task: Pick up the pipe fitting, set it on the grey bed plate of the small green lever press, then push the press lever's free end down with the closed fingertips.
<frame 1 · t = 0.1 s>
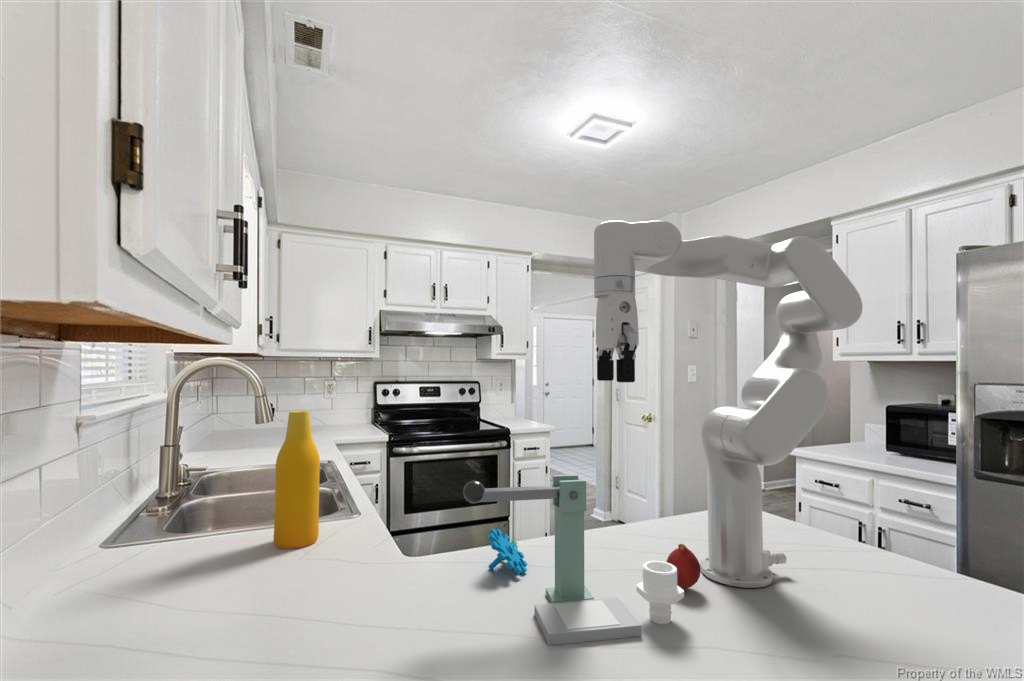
hand: (615, 381, 92), 37 cm above the countertop, tool pointing down, fingers open, 9 cm apart
lever: (523, 489, 84), point 19 cm above the countertop, hinge at 0.0°
gear: (508, 570, 97), on the countertop
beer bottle: (296, 543, 112), on the countertop
pipe fitting: (660, 620, 78), on the countertop
onion: (683, 590, 89), on the countertop
press: (580, 616, 79), on the countertop
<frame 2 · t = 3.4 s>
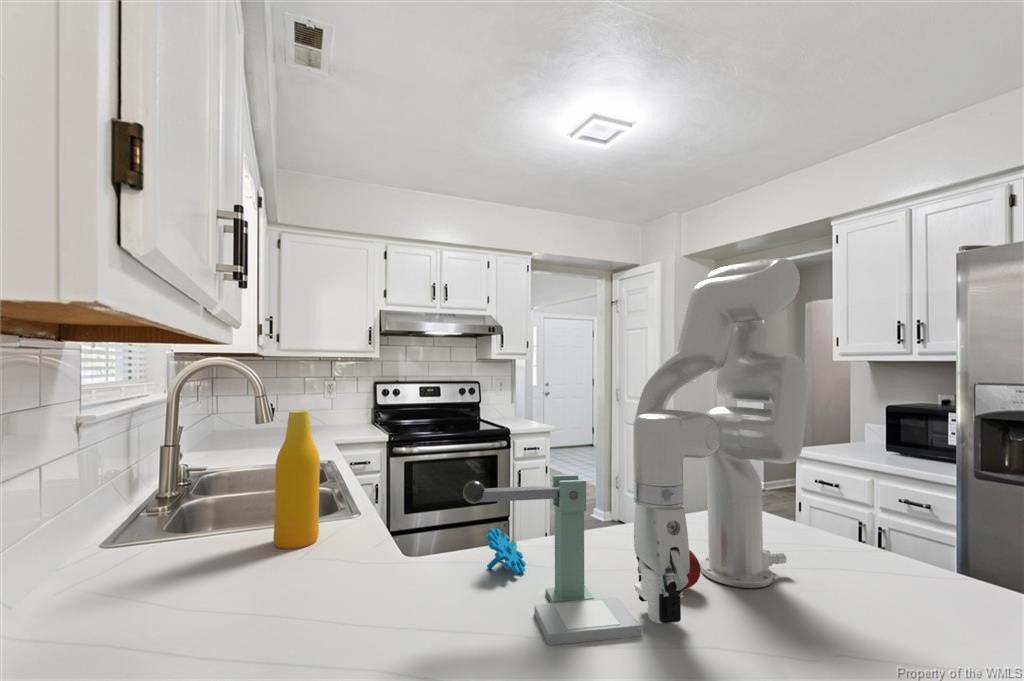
hand: (658, 609, 78), 2 cm above the countertop, tool pointing down, fingers closed on pipe fitting, 6 cm apart
pipe fitting: (658, 619, 78), on the countertop, touching gripper
everything else where it was.
when the fingers open (4 cm above the countertop, at t = 7.6 s): pipe fitting drops 1 cm, resting on press.
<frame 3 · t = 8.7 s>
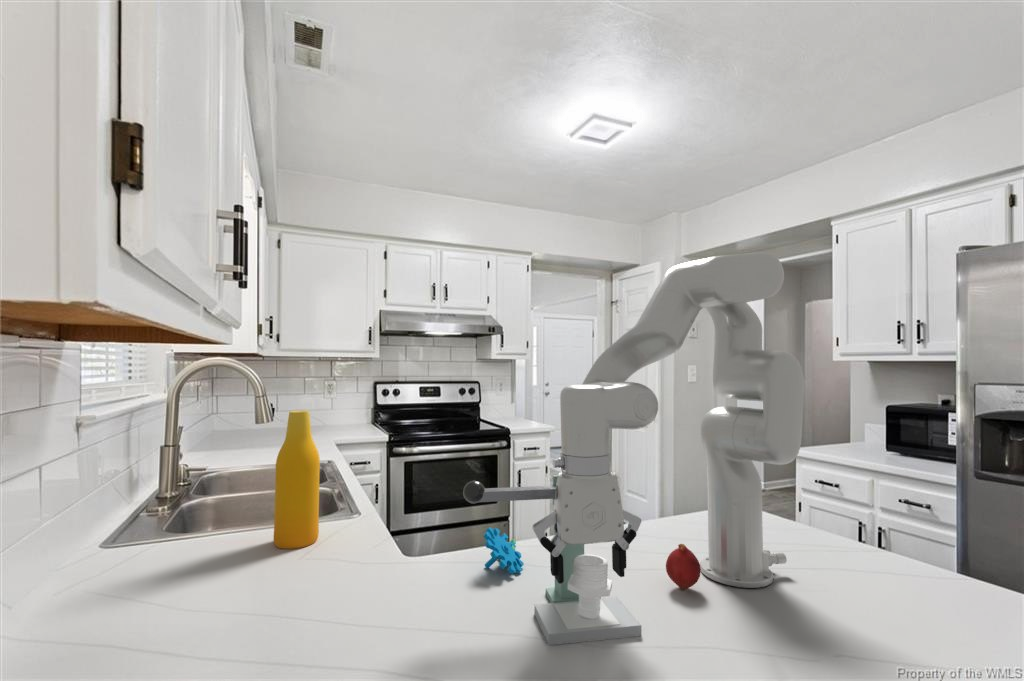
hand: (588, 576, 77), 7 cm above the countertop, tool pointing down, fingers open, 9 cm apart
pipe fitting: (589, 615, 76), point 1 cm above the countertop, touching press
everything else where it was.
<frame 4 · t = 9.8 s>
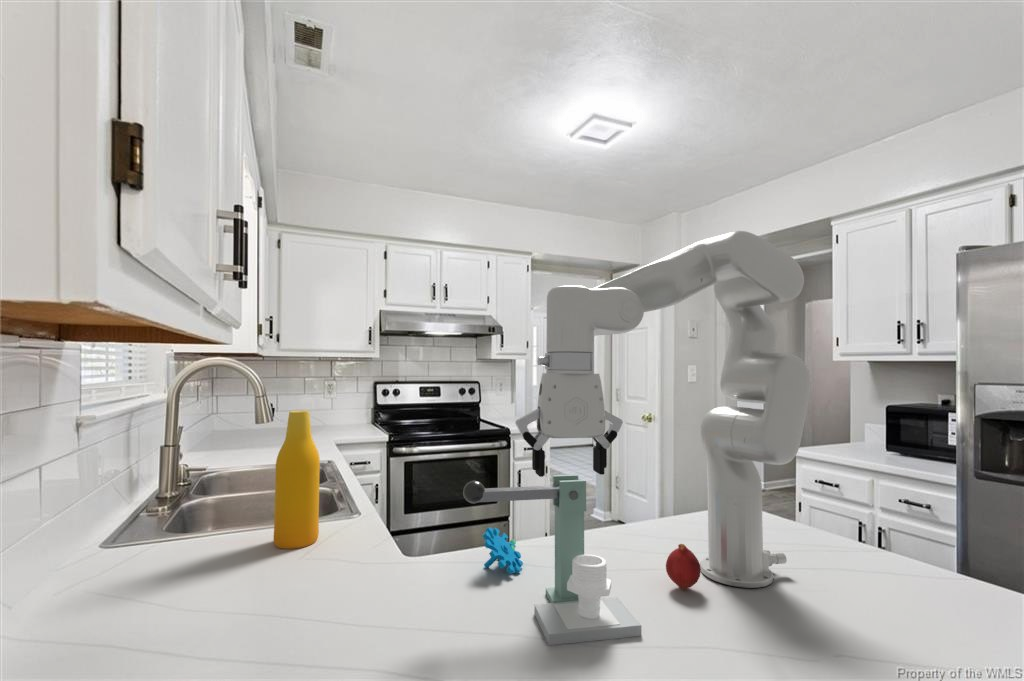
hand: (569, 473, 78), 23 cm above the countertop, tool pointing down, fingers open, 9 cm apart
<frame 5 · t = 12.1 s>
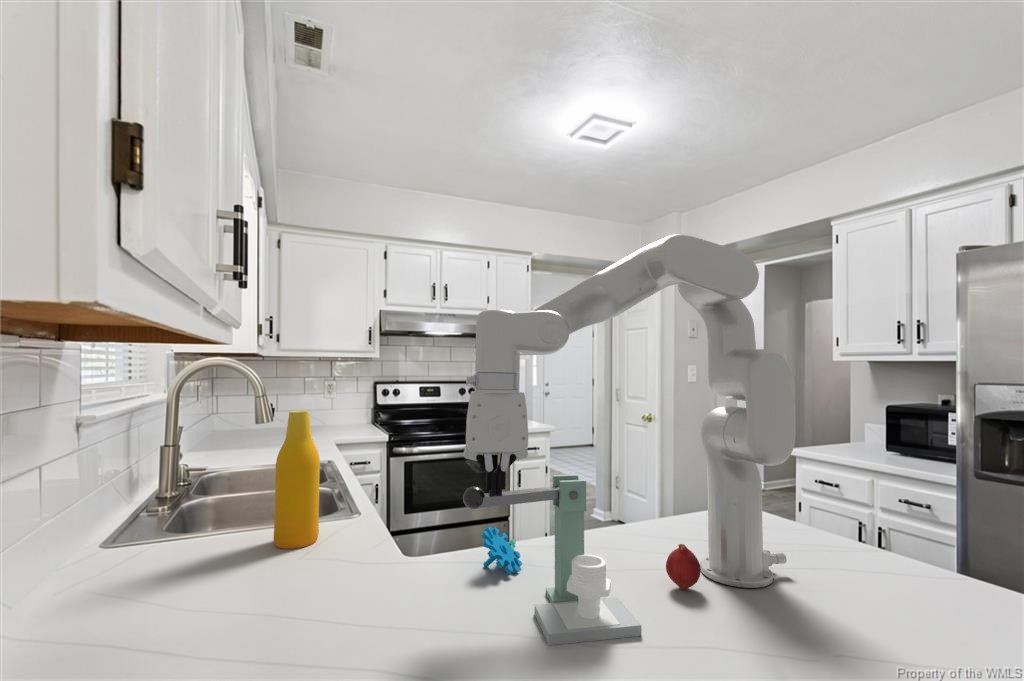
hand: (495, 493, 83), 18 cm above the countertop, tool pointing down, fingers closed
lever: (522, 492, 84), point 18 cm above the countertop, hinge at 3.4°, touching gripper
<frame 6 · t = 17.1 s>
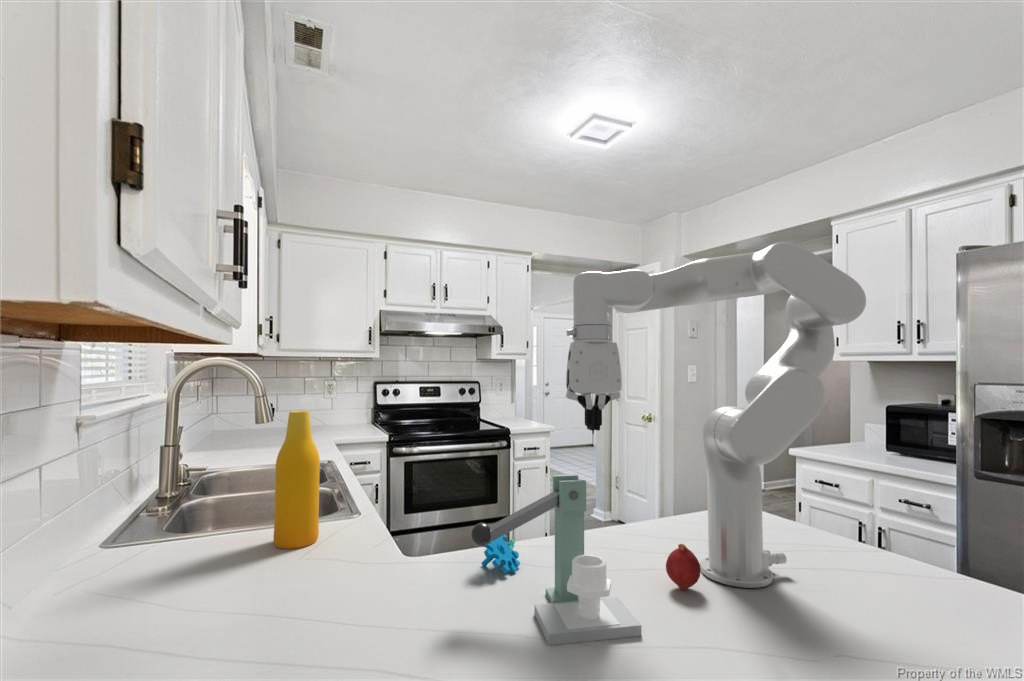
hand: (593, 429, 97), 27 cm above the countertop, tool pointing down, fingers closed
lever: (525, 510, 84), point 15 cm above the countertop, hinge at 25.1°
at the end: pipe fitting inside the target area on the press (0.5 cm from its centre), point 1.4 cm above the press's base; lever at +25° (first picture: +0°); the gripper is holding nothing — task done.
